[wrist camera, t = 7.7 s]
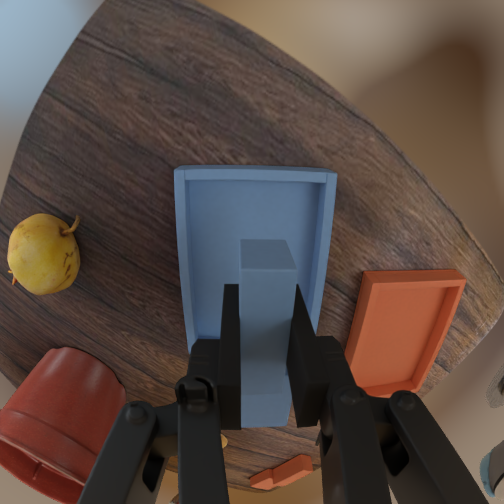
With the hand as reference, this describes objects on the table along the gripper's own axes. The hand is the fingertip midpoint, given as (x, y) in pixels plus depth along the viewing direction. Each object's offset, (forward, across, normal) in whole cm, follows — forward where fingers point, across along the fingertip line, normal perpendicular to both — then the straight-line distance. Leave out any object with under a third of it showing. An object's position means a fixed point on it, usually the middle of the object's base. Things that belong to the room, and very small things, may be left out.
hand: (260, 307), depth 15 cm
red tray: (+10, +16, -12) cm, 22 cm away
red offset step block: (+10, +6, -42) cm, 44 cm away
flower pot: (+11, -21, -20) cm, 31 cm away
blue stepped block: (0, 0, -3) cm, 3 cm away
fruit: (+11, -18, -1) cm, 21 cm away
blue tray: (+10, 0, -3) cm, 11 cm away
